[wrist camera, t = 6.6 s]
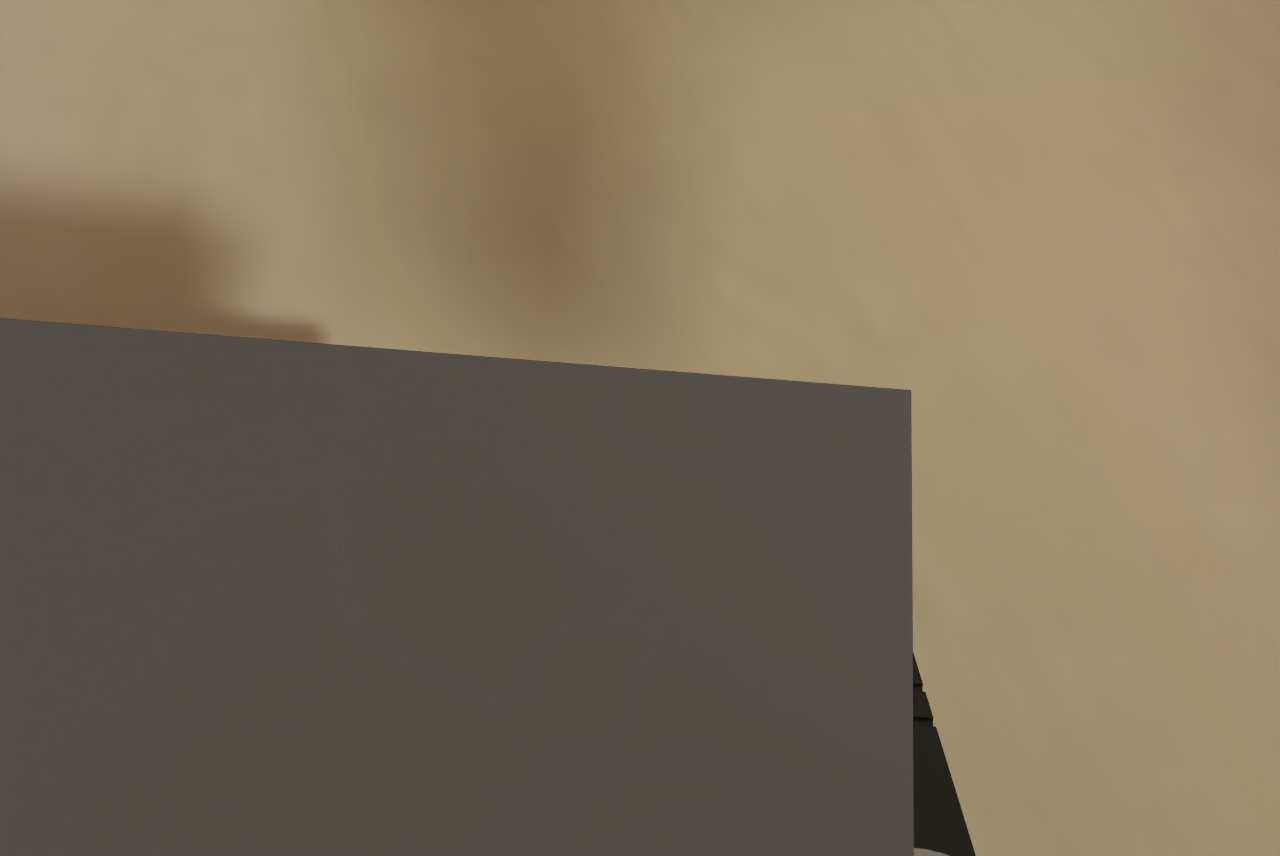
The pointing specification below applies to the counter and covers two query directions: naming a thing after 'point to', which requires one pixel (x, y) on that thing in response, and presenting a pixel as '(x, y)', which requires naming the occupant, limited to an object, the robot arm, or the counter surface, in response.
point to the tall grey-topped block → (445, 604)
